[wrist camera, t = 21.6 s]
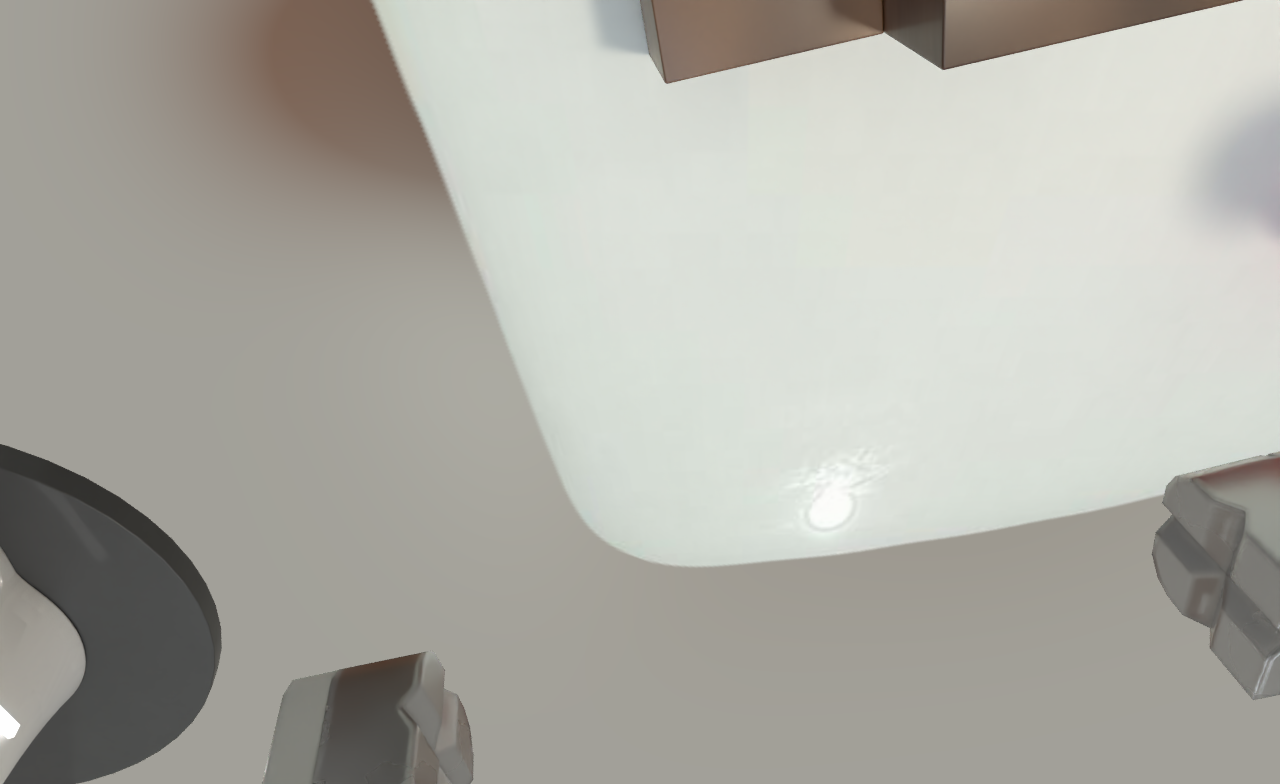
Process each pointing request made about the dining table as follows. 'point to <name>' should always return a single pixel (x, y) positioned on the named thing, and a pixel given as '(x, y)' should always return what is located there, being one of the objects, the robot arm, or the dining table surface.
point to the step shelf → (879, 27)
